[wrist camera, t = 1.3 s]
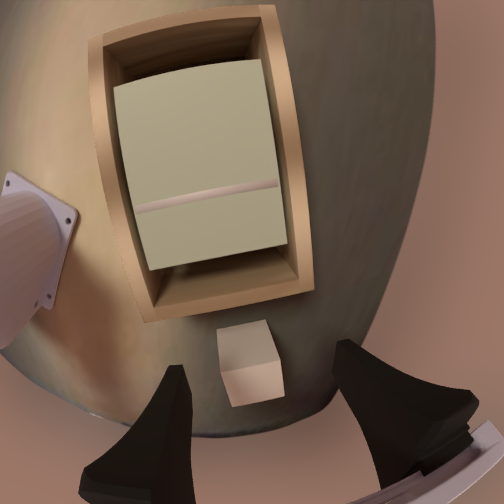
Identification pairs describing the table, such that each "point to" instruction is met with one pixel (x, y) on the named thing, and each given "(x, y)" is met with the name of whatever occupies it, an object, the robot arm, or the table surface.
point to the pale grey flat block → (201, 162)
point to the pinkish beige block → (249, 363)
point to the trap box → (286, 145)
